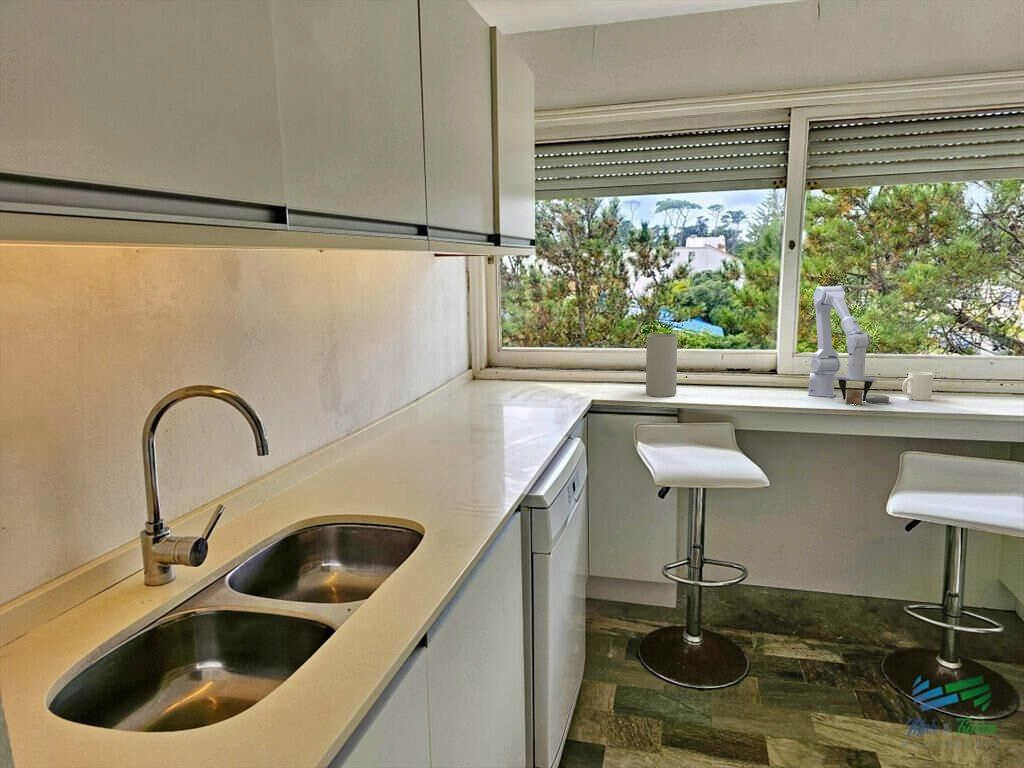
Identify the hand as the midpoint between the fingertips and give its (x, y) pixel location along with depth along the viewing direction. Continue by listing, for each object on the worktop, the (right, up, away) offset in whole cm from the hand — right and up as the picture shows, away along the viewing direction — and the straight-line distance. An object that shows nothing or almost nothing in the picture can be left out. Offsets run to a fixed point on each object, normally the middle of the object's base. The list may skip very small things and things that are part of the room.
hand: (854, 400), depth 259 cm
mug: (+27, 0, +6) cm, 28 cm away
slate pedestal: (+10, -1, +4) cm, 11 cm away
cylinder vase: (-68, +2, +26) cm, 73 cm away
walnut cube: (0, -2, 0) cm, 2 cm away
